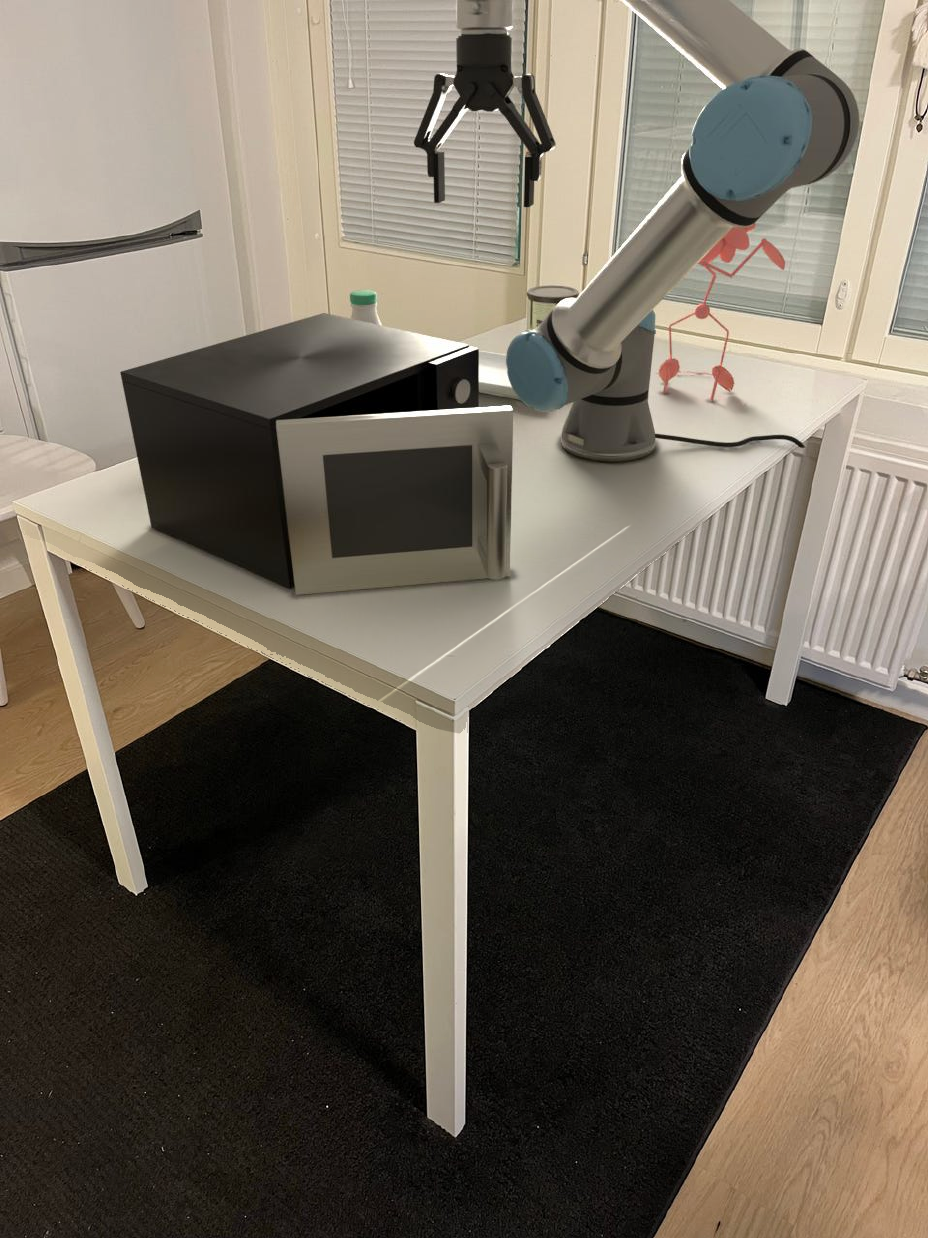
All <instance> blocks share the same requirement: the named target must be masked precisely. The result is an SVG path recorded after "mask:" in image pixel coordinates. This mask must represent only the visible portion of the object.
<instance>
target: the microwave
mask: <svg viewBox="0 0 928 1238" xmlns="http://www.w3.org/2000/svg"><path fill="white" fill-rule="evenodd" d="M479 348H480V347H479ZM479 348H478V347H474V346H470V344H467V343H463V342H459V341H453V340H448V339H444V338H439V337H435V336H431V335H426V334H422V333H417V332H413V331H408V330H403V329H399V328H395V327H389V326H386V325H382V326H381V325H377V324H372V323H368V322H363V321H359V320H354V319H351V317H350V318H349V317H344V316H341V315H335V314H331V313H327V312H323V313H319V314H316V315H312V316H309V317H304V318H302V319H298V320H294V321H292V322H287V323H284V324H281V325H278V326H274V327H271V328H267V329H264V330H260V331H257V332H252V333H249V334H247V335H243V336H239V337H236V338H232V339H228V340H226V341H222V342H218V343H216V344H212V345H208V346H204V347H201V348H197V349H194V350H190V351H188V352H184V353H180V354H176V355H174V356H170V357H166V358H162V359H160V360H156V361H153V362H149V363H145V364H143V365H139V366H135V367H132V368H129V369H125V370H123V371H122V370H121V371H120V373H119V374H120V378H121V379H120V380H121V383H122V388H123V393H124V399H125V404H126V409H127V413H128V418H129V424H130V429H131V432H132V433H131V434H132V438H133V443H134V449H135V452H136V458H137V463H138V467H139V472H140V478H141V483H142V487H143V492H144V497H145V503H146V508H147V512H148V517H149V522H150V527H151V529H153V530H156V531H158V532H160V533H162V534H165V535H167V536H168V537H171V538H173V539H175V540H178V541H181V542H183V543H185V544H187V545H190V546H192V547H193V548H196V549H198V550H201V551H203V552H206V553H208V554H209V555H212V556H214V557H216V558H218V559H221V560H223V561H225V562H228V563H230V564H232V565H234V566H236V567H239V568H240V569H243V570H245V571H247V572H250V573H252V574H254V575H256V576H258V577H261V578H262V579H265V580H268V581H269V582H272V583H274V584H276V585H278V586H281V587H282V588H285V589H287V590H289V591H290V590H293V589H295V584H294V575H293V567H292V558H291V550H290V541H289V533H288V524H287V515H286V507H285V498H284V490H283V481H282V473H281V464H280V455H279V447H278V438H277V430H276V420H289V419H305V418H321V417H337V416H353V415H369V414H385V413H401V412H417V411H433V410H449V409H465V408H480V406H479V404H480V402H479V401H480V395H479V394H480V392H479V350H480V349H479Z"/></svg>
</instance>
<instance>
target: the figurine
mask: <svg viewBox="0 0 928 1238" xmlns="http://www.w3.org/2000/svg"><path fill="white" fill-rule="evenodd" d="M756 226H757V223H756V222H755V223H754V224H753V225H752V226H750V227H746V228H738V227H732V228H731V229H730V231H729V232H728V233H727V234H726V235H725V236H724V237H723V238H722V239H721V240H720V241H719V242H718V243H717V244H716V245H715V246H714V247H713V248H712V249H711V250H710V251H709V252H708V253H707V254H706V255H705V256H704V257H703V258H702V259H701V260H700V261H699V262H698V263H697V264H696V265H699V266H701V267H704V268H705V269H706V270H707V271H708V272H709V273H710V274H711V276H712V278H711V281H710V283H709V286H708V289H707V291H706V294H705V297H704V300H703V302H702V303H699V304H697V305H696V307H695V309H694V312H692V313H690V314H688V315H686V316H684V317H682V318H681V319H678V320H676V321H674V322H672V323H670V324H669V326H668V338H669V340H668V341H669V358H668V359H665V360H664V361H663V363H661V365H660V366H659V368H658V372H655V373H654V374H655V375H658V376H659V377H660V379H661V381H662V382H663V383H664V386H663V389H662V394H666V392H667V389H668V384H669V381H670V380H672V379H673V378H675V377H676V376H677V375H678V374H679V373H680V369H681V366H680V362H679V360H678V359H676V358H673V348H672V347H673V343H672V326H675V325H677V324H679V323H681V322H683V321H685V320H686V319H688V318H690V317H692V316H695V317H696V318H697V319H699V320H705V319H707V318H708V317H710V318H711V319H713V321H715V323H717V325H719V326H720V327H721V328H722V329H723V330H725V332H726V335H725V340H724V345H723V349H722V354H721V359H720V363H719V365H717V364H716V365H714V366H713V367H712V368H711V370H712V371H711V372H712V373H711V374H710V373H709V372H705V371H704V372H699V374H700V375H709V376H712V377H713V379H714V383H713V387H712V390H711V393H710V399H709V401H710V402H713V401H714V399H715V394H716V390H717V386H718V385H719V386H720V387H722V388H724V389H725V391H727V392H729V393H731V392H732V390H734V389H733V388H734V386H735V380H734V377H733V374H731V372H730V371H729V370H728V369H726V368H725V367H724V366H723V362H724V358H725V353H726V349H727V346H728V345H727V344H728V340H729V336H730V332H729V329H728V328H727V327H726V326H725V325H723V323H721V321H719V320H718V319H717V318H716V317H715V316H714V315H713V314H712V313H711V309H710V308H711V307H710V306H709V305H708V304H707V303H706V302H707V300H708V298H709V296H710V293H711V290H712V289H713V286H714V284H715V281H716V279H717V273H716V272H718V273H720V274H722V275H724V276H726V277H728V278H730V279H732V278H733V277H734V276H735V275H736V274H737V273H738V272H739V271H740V270H741V269H742V268H743V267H744V266H745V265H746V264H747V262H748V261H749V260H750V259H751V258H752V257H753V256H754V255H755V254H756V253H757V252H758V251H759V250H760V248H762V251H763V252H764V254H765V255H766V256H767V258H769V260H770V261H771V262H772V263H773V264H775V266H777V268H779V269H781V270H782V271H784V270H785V268H786V260H785V258H784V256H783V255H782V253H781V251H780V250H779V249H778V248H777V247H776V246H775V245H774V244H773V243H772V242H770V241H769V240H767V239H766V238H764V237H763V238H762V239H761V241H760V242H759V244H757V246H756V247H755V248H753V250H752V251H751V252H750V253H749V254H748V255H747V256H746V257H745V259H743V261H742V262H741V263H740V264H739V265H738V266H737V267H736V268H735V269H734V270H733V271H732V272H731V273H730V272H728V271H726V270H724V269H722V268H719V267H717V266H715V265H713V264H711V262H713V261H714V260H716V259H717V257H719V258H720V260H721V261H722V262H723V263H726V264H729V263H731V262H732V261H733V259H734V257H735V255H736V251H737V250H738V251H746V250H748V249H749V247H750V238H749V234H748V233H749V232H750V231H752V230H754V229H756ZM747 232H748V233H747ZM684 373H686V374H688V373H689V374H698V372H697V371H684ZM745 405H746V403H743V404H742V405H741V407H744V406H745Z"/></svg>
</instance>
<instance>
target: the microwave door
mask: <svg viewBox="0 0 928 1238" xmlns="http://www.w3.org/2000/svg"><path fill="white" fill-rule="evenodd" d="M276 430H277V438H278V447H279V455H280V464H281V473H282V481H283V490H284V498H285V507H286V515H287V524H288V533H289V541H290V550H291V558H292V567H293V575H294V584H295V587H294V591H295V595H296V596H301V595H313V594H323V593H335V592H336V593H337V592H348V591H359V590H368V589H370V590H371V589H381V588H392V587H393V588H394V587H404V586H417V585H427V584H441V583H449V582H450V583H451V582H462V581H473V580H474V581H475V580H485V579H490V580H493V581H494V580H495V581H497V580H498V581H499V580H501V579H504V578H509V577H510V576H511V540H512V539H511V538H512V537H511V535H512V534H511V533H512V495H513V493H512V491H513V489H512V488H513V487H512V486H513V450H514V449H513V445H514V444H513V443H514V436H513V435H514V409H513V407H512V406H511V405H501V406H499V405H498V406H497V405H496V406H487V407H486V406H483V407H479V408H465V409H449V410H433V411H417V412H401V413H385V414H369V415H353V416H337V417H321V418H305V419H289V420H276Z"/></svg>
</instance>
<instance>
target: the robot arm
mask: <svg viewBox="0 0 928 1238" xmlns="http://www.w3.org/2000/svg"><path fill="white" fill-rule="evenodd" d="M621 1H622V2H623V3H624V4H625V5H626V6H627V7H629V8H630V10H632V11H633V13H635V14H636V15H638V17H640V18H641V19H642V21H644V22H645V23H647V25H649V26H650V27H651V28H653V29H654V30H655V31H656V32H657V33H658V34H659V35H660V36H662V38H664V39H665V40H666V41H667V42H669V44H671V45H672V46H673V47H674V48H675V49H676V50H677V51H679V52H680V53H681V54H682V55H683V56H684V57H686V59H688V60H689V61H690V62H691V63H692V64H694V65H695V66H696V67H697V68H698V69H699V70H700V71H702V72H703V73H704V74H705V75H706V76H707V77H708V78H710V79H711V80H712V81H713V83H715V84H717V86H719V87H720V88H721V90H719V92H717V93H716V94H715V95H714V96H713V97H712V98H710V99H709V101H708V102H707V103H706V104H705V105H704V107H703V108H702V109H701V111H700V112H699V115H698V116H697V119H696V120H695V123H694V124H693V125H694V126H693V128H692V131H691V135H690V136H691V138H692V141H691V145H690V146H689V147H688V149H687V150H686V151H685V152H684V154H683V155H682V158H681V162H680V167H681V177H680V178H679V179H678V180H677V181H676V183H675V184H674V185H673V186H672V187H671V188H670V189H669V190H668V192H667V193H666V194H665V195H664V197H663V198H662V199H661V200H660V201H659V202H658V203H657V205H655V207H654V208H653V209H652V210H651V212H650V213H649V214H648V215H647V216H646V217H645V218H644V220H643V221H642V222H641V223H640V224H639V225H638V227H637V228H636V229H635V230H634V231H633V232H632V234H631V235H630V236H629V237H628V238H627V239H626V241H625V242H624V243H623V244H622V245H621V247H620V248H618V250H617V251H616V252H615V253H614V255H612V257H611V258H610V259H609V260H608V261H607V263H606V264H605V265H604V266H603V267H602V268H601V270H600V271H599V272H598V273H597V274H596V275H595V276H594V277H593V279H592V280H591V281H590V282H589V284H588V285H587V286H586V287H585V288H584V290H582V292H581V293H579V296H578V298H577V299H576V298H569V299H564V300H562V301H561V302H560V303H558V304H557V305H556V306H555V308H554V309H553V310H552V311H551V312H550V313H549V315H548V316H547V317H546V318H545V319H544V320H543V322H542V323H541V324H540V325H539V326H538V327H536V328H535V329H533V330H527V329H526V330H524V331H522V332H520V333H519V334H517V335H516V336H515V337H514V338H513V339H512V340H511V341H510V343H509V345H508V347H507V350H506V354H505V355H506V365H507V369H508V371H507V374H508V378H509V381H510V384H511V386H512V388H513V390H514V392H515V393H516V395H517V396H518V397H519V399H520V400H519V401H521V402H522V403H523V404H524V405H525V406H526V407H528V408H530V409H532V410H536V411H537V412H550V411H553V410H560V409H562V408H563V407H565V406H566V405H569V404H571V406H570V408H569V411H568V414H567V417H566V419H565V420H564V421H565V422H564V424H563V426H562V431H561V435H560V436H561V437H560V444H561V446H562V448H563V449H564V450H565V451H567V452H568V453H569V454H572V455H574V456H576V457H578V458H582V459H586V460H591V461H596V462H597V461H598V462H607V463H608V462H609V463H614V462H619V463H620V462H628V461H633V460H639V459H641V458H644V457H647V456H649V455H650V454H652V453H653V451H654V450H655V446H656V439H658V440H668V441H675V442H682V443H689V444H695V445H702V446H703V445H704V446H710V447H716V448H717V447H719V448H736V447H737V448H738V447H741V446H744V445H746V444H748V443H751V442H759V441H760V442H761V441H772V440H773V441H774V440H783V441H788V442H792V443H793V444H795V445H796V446H798V448H801V449H804V448H805V449H806V446H805V445H804V444H803V442H802V441H800V440H799V439H798V438H796V437H794V436H792V435H787V434H769V435H767V434H766V435H755V436H750V437H749V436H748V437H747V438H743V439H741V440H738V441H732V442H729V441H728V442H726V441H725V442H724V441H714V440H707V439H698V438H691V437H684V436H678V435H671V434H662V433H656V431H655V426H654V422H653V418H652V413H651V408H650V405H649V393H650V392H649V391H650V383H651V372H652V363H653V353H654V345H655V336H656V334H657V330H656V312H655V310H654V309H655V308H656V307H657V306H658V305H659V304H660V303H661V302H662V301H663V300H664V299H665V298H666V296H667V295H669V294H670V293H671V291H672V290H674V288H675V287H676V286H677V285H678V284H679V283H680V282H681V281H682V280H683V279H684V278H685V277H686V276H687V275H688V274H689V273H690V272H691V271H692V270H693V269H694V268H695V267H696V266H697V265H698V264H697V263H698V262H699V261H701V259H702V258H703V257H704V256H705V255H706V254H707V253H708V252H709V251H710V250H711V249H712V248H713V247H714V246H715V245H716V244H717V243H718V242H719V241H720V240H721V239H722V238H723V237H724V236H725V235H726V234H727V233H728V232H729V231H730V229H731V228H732V227H738V228H746V227H750V226H752V225H753V224H754V223H756V222H758V220H759V219H761V217H763V215H764V214H765V213H767V211H768V210H770V209H771V207H772V206H773V205H774V204H775V203H776V202H778V200H779V199H781V198H782V196H783V195H785V194H786V193H787V192H788V191H789V190H791V189H795V188H798V187H803V186H807V185H808V186H809V185H812V184H814V183H817V182H819V181H821V180H824V179H826V178H827V177H829V176H830V175H832V174H833V173H834V172H836V171H837V170H838V169H839V168H840V167H841V165H842V164H844V162H845V161H846V160H847V158H848V157H849V155H850V153H851V152H852V150H853V148H854V145H855V142H856V141H857V138H858V133H859V125H860V113H859V112H860V111H859V106H858V104H857V99H856V98H855V94H854V93H853V92H852V90H851V88H850V87H849V86H848V85H847V83H846V82H845V81H844V80H843V79H841V77H839V75H837V74H836V73H835V72H833V70H831V69H830V68H829V67H827V66H826V65H825V64H823V63H822V62H821V61H820V60H819V59H817V58H816V57H815V56H813V54H811V52H809V51H808V50H806V49H804V48H797V49H794V50H790V49H789V48H787V46H785V45H784V44H783V43H782V42H780V41H779V40H778V39H776V37H774V36H773V35H772V34H771V33H769V31H767V30H766V29H764V28H763V26H761V25H760V24H758V23H757V22H756V21H755V20H754V19H752V18H751V17H750V16H749V15H748V14H747V13H745V12H744V11H743V10H742V9H740V8H739V7H738V6H737V5H735V4H734V3H733V2H732V1H731V0H621ZM513 6H514V0H455V19H456V20H455V21H456V22H455V23H456V26H455V27H456V29H457V30H460V34H458V35H457V37H456V38H455V39H456V40H455V42H456V44H455V45H456V46H455V48H456V49H455V50H456V53H455V54H456V72H455V75H448V74H447V73H445V72H443V73H441V72H440V73H436V74H435V75H434V78H433V92H432V94H431V97H430V99H429V102H428V105H427V106H426V109H425V112H424V115H423V117H422V120H421V122H420V124H419V128H418V130H417V132H416V135H415V137H414V140H413V145H414V147H415V148H419V149H421V150H424V151H425V153H426V169H427V176H428V178H433V203H434V204H440V203H442V202H444V201H446V179H445V177H446V175H445V174H446V173H445V171H446V169H445V166H446V165H445V151H440V150H441V147H442V145H443V144H444V143H445V141H446V140H447V138H448V137H449V136H450V134H451V133H452V132H453V130H454V129H455V127H456V126H457V125H458V123H459V121H460V120H462V118H463V116H464V115H465V113H466V112H467V111H468V110H469V111H471V112H479V111H484V112H488V113H491V112H496V111H499V112H500V114H501V115H502V116H504V118H505V119H506V121H507V122H508V124H509V125H510V126H511V128H512V129H513V131H514V132H515V133H516V135H517V136H518V138H519V139H520V140H521V143H523V145H524V146H525V148H526V150H527V151H528V152H529V154H528V155H526V156H524V177H523V178H524V179H523V181H524V183H523V189H524V190H523V208H530V207H532V206H534V204H535V182H538V181H540V180H541V179H542V168H543V166H542V165H543V155H544V154H546V153H549V152H551V151H553V150H554V149H555V148H556V145H557V144H556V140H555V138H554V135H553V133H552V131H551V127H550V125H549V122H548V120H547V117H546V116H545V112H544V110H543V108H542V105H541V103H540V100H539V97H538V95H537V93H536V78H535V75H534V74H532V73H527V74H523V75H521V76H520V75H519V76H514V74H513V70H512V68H513V67H512V66H513V37H512V35H511V34H509V30H511V29H512V28H513V25H514V24H513V23H514V21H513V20H514V19H513V18H514V17H513V13H514V12H513V11H514V7H513ZM453 86H454V89H455V90H456V92H457V94H458V95H459V97H458V98H457V100H456V101H455V103H454V104H453V106H452V108H451V110H450V111H449V113H448V114H447V115H446V117H445V118H444V120H443V121H442V123H440V125H439V127H438V128H437V130H436V131H435V133H434V134H433V136H432V137H431V135H432V132H433V130H434V128H435V125H436V122H437V121H438V118H439V115H440V112H441V110H442V108H443V105H444V102H445V100H446V97H447V94H448V93H449V92H450V91H451V90H452V87H453ZM514 87H516V88H517V91H518V93H519V94H522V98H523V101H524V104H525V106H526V108H527V111H528V113H529V116H530V119H531V121H532V124H533V126H534V128H535V129H534V130H535V131H536V134H537V136H538V138H539V140H538V139H537V137H536V136H535V134H534V132H533V130H531V128H530V127H529V125H528V124H527V122H526V121H525V120H524V118H523V117H522V115H521V113H520V112H519V111H518V110H517V108H516V105H515V103H514V102H513V100H512V99H511V97H510V94H511V92H512V91H513V90H514Z"/></svg>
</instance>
